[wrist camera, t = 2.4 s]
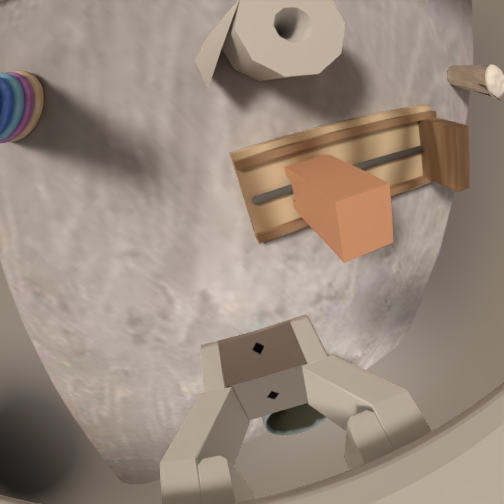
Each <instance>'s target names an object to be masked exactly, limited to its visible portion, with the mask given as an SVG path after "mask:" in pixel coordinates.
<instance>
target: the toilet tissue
mask: <svg viewBox="0 0 504 504" xmlns="http://www.w3.org/2000/svg"><path fill="white" fill-rule="evenodd" d="M344 31H345V23H344V21H343V19H342V17H341V15H340V13H339V11H338V9H337V7H336V6H335V4H334V2H333V0H238V1H237V2H236V3H235V5H234V6H233V7H232V8H231V9H230V10H229V11H228V12H227V14H226V15H225V16H224V17H223V18H222V19H221V21H220V22H219V23H218V24H217V25H216V27H215V28H214V29H213V30H212V31H211V33H210V34H209V35H208V36H207V38H206V39H205V41H204V43H203V45H202V47H201V50H200V52H199V54H198V56H197V59H196V61H195V63H196V65H197V67H198V69H199V71H200V73H201V75H202V78H203V80H204V82H205V84H206V86H207V88H208V89H209V85H210V82H211V79H212V76H213V73H214V70H215V67H216V64H217V61H218V58H219V55H220V52H221V49H222V50H223V51H224V53H225V55H226V57H227V58H228V60H229V62H230V63H231V65H232V67H233V69H234V70H236V71H238V72H240V73H243V74H245V75H247V76H249V77H251V78H253V79H255V80H257V81H266V80H273V79H282V78H290V77H297V76H305V75H313V74H319V73H320V72H322V71H323V70H324V69H325V68H326V67H327V66H328V65H329V64H330V63H331V62H333V61H334V60H335V59H336V58H337V57H338V56H339V55H340V54H341V52H342V45H343V38H344Z"/></svg>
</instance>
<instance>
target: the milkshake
mask: <svg viewBox="0 0 504 504" xmlns="http://www.w3.org/2000/svg"><path fill="white" fill-rule="evenodd" d="M447 78H448V81H449V83H450V84H451V85H453V86H454V87H458V88H462V89H466V90H470V91H474V92H478V93H482V94H485V95H488V96H491V97H494V98H497V99H498V100H500V99H499V97H501V96H502V94H503V93H504V75H503V73H502V71H501V70H500V69H499V68H498V67H497V66H495V65H456V66H450V67H449V68H448V70H447Z"/></svg>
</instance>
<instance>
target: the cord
mask: <svg viewBox="0 0 504 504" xmlns="http://www.w3.org/2000/svg"><path fill="white" fill-rule="evenodd" d="M422 152H424V147H423V146H417V147H414V148H410V149H406V150H403V151H399V152H396V153H392V154H388V155H385V156H381V157H378V158H374V159H371V160H368V161H364V162H361V163H357V164H354V165H353V166H355V167H357V168H359V169H361V170H364V169H367V168H371V167H374V166H377V165H380V164H384V163H387V162H391V161H394V160H397V159H401V158H404V157H408V156H411V155H415V154H418V153H422ZM292 192H293V189H292V185H291V184H290V185H287V186H284V187H281V188H278V189H275V190H272V191H269V192H266V193H264V194H261V195H258V196H255V197H253V198H252V203H253V204H255V205H257V204H260V203H263V202H266V201H269V200H272V199H275V198H278V197H280V196H283V195H286V194H289V193H292Z"/></svg>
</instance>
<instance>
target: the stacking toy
mask: <svg viewBox="0 0 504 504" xmlns="http://www.w3.org/2000/svg"><path fill="white" fill-rule="evenodd" d="M43 103H44V95H43V89H42V86H41V84H40V82H39V80H38V79H37V78H36V77H35V76H34V75H33V74H31V73H29V72H27V71H14V72H7V73H0V143H5V142H15V141H18V140H20V139H22V138H24V137H25V136H26V135H28V134H29V133H30V132H31V131H32V130H33V128H34V127H35V126H36V124H37V122H38V120H39V118H40V116H41V113H42V109H43Z"/></svg>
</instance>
